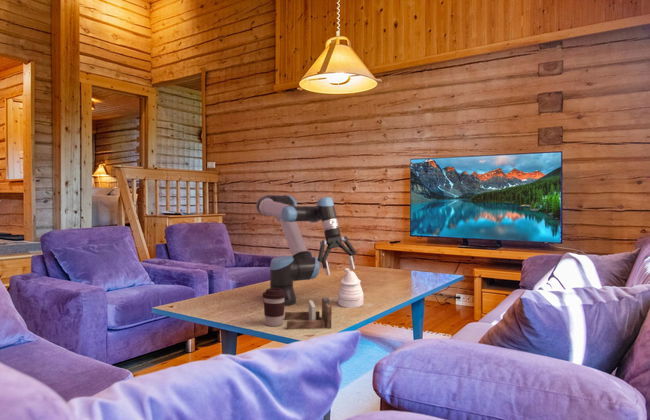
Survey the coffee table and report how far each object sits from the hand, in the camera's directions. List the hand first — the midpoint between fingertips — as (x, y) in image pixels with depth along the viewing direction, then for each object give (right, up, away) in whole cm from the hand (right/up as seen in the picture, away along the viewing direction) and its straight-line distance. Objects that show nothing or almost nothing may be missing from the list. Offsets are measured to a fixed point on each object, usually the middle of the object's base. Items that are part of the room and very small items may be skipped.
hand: (340, 272), depth 221 cm
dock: (-15, -19, -21) cm, 32 cm away
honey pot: (+5, -17, +13) cm, 23 cm away
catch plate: (-13, -19, -21) cm, 31 cm away
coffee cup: (-29, -19, -24) cm, 42 cm away
